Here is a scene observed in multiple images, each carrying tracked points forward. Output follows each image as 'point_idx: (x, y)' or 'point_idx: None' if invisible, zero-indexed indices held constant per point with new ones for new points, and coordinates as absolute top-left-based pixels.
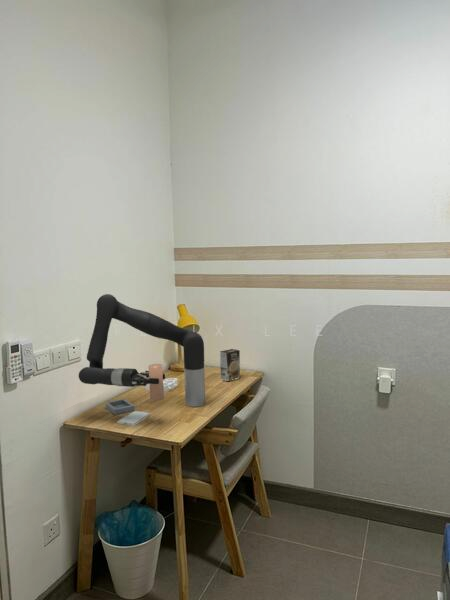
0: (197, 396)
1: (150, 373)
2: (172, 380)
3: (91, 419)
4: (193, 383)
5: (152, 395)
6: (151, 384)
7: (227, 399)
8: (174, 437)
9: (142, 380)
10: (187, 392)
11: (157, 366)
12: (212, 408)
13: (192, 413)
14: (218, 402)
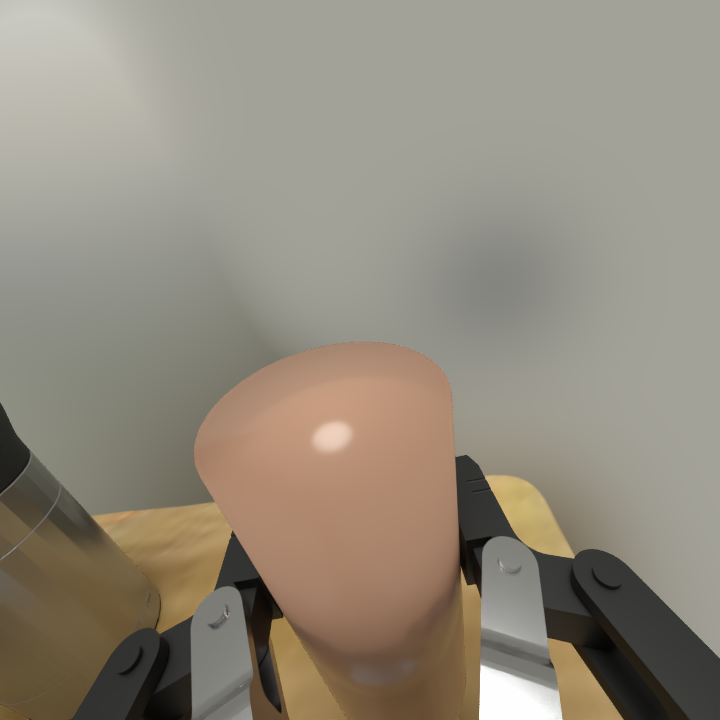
0: (132, 568)
1: (454, 496)
2: None
3: None
4: (81, 539)
5: (464, 646)
6: (461, 589)
7: (103, 518)
8: (522, 509)
9: (664, 611)
10: (80, 629)
11: (354, 364)
12: (197, 524)
13: None
14: (127, 535)
